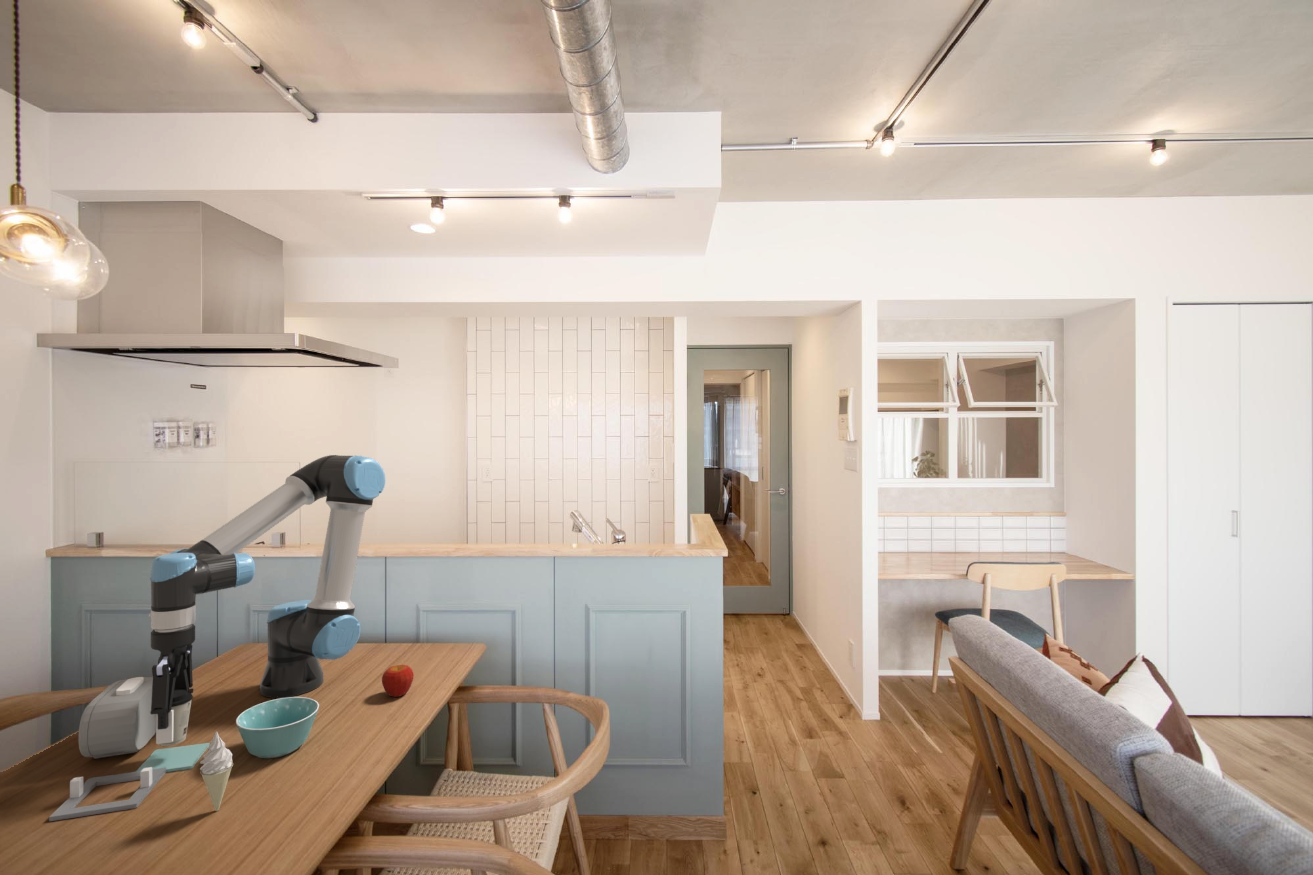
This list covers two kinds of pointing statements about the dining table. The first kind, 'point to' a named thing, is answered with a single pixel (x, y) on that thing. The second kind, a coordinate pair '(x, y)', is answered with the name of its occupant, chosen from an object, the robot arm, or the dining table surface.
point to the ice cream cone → (216, 769)
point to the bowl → (277, 725)
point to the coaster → (175, 757)
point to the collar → (81, 790)
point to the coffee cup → (180, 715)
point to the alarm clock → (118, 719)
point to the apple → (397, 680)
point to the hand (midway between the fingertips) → (172, 733)
